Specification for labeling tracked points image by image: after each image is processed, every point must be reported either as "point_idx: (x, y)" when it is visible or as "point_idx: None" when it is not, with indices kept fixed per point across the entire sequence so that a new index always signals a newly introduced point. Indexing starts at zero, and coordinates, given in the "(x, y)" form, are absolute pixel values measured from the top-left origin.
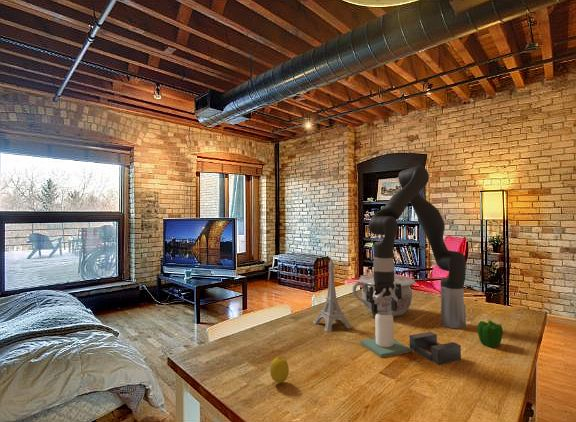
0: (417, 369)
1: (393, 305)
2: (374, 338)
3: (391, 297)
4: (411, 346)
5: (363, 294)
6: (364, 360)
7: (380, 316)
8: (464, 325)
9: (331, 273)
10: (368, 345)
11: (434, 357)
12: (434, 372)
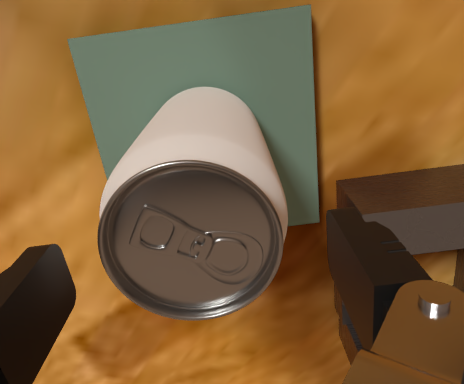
0: (235, 346)
1: (349, 289)
2: (184, 30)
3: (394, 351)
4: (341, 202)
5: None
6: (39, 245)
7: (124, 278)
8: None
9: None
10: (98, 132)
11: (345, 337)
12: (282, 371)
